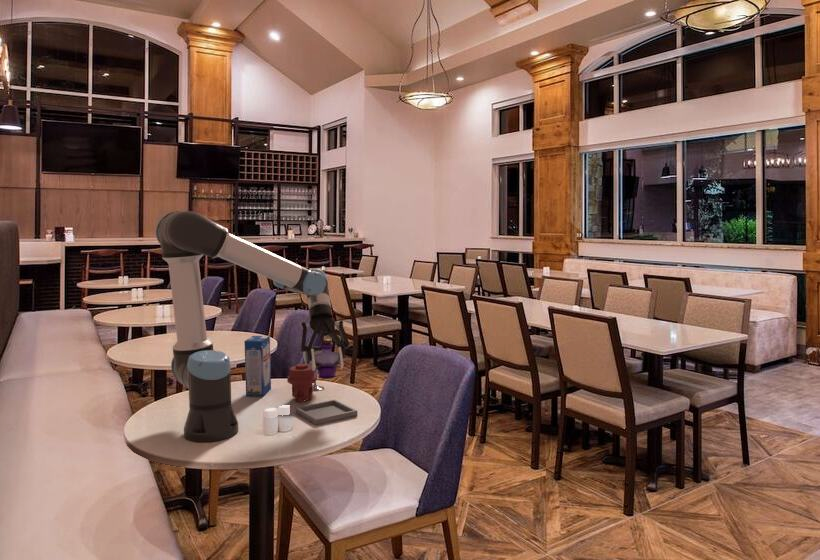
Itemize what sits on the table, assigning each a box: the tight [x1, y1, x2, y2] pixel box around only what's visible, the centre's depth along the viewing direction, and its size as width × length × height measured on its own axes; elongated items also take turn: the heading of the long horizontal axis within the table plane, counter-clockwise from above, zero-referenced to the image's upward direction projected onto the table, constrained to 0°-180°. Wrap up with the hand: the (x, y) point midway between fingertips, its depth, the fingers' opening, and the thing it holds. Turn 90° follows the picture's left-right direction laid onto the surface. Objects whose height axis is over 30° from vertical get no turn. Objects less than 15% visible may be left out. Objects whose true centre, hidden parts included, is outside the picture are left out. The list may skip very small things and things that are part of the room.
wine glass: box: [303, 345, 325, 391], centre depth 219 cm, size 8×8×15 cm
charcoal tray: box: [294, 399, 358, 426], centre depth 190 cm, size 15×15×2 cm
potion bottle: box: [314, 338, 340, 380], centre depth 188 cm, size 9×9×12 cm
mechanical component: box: [286, 363, 318, 403], centre depth 205 cm, size 12×10×10 cm
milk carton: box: [244, 335, 272, 398], centre depth 213 cm, size 10×6×20 cm, turn 178°
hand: (328, 367), depth 185 cm, fingers closed on potion bottle, 8 cm apart
